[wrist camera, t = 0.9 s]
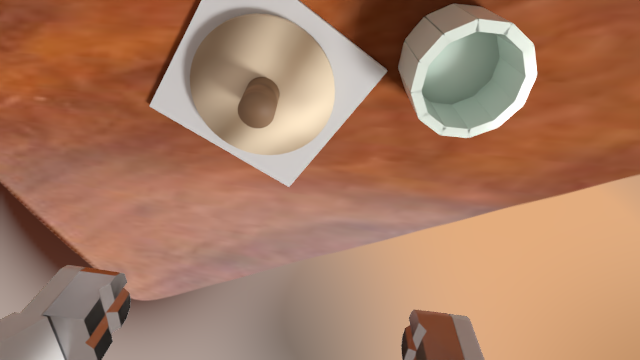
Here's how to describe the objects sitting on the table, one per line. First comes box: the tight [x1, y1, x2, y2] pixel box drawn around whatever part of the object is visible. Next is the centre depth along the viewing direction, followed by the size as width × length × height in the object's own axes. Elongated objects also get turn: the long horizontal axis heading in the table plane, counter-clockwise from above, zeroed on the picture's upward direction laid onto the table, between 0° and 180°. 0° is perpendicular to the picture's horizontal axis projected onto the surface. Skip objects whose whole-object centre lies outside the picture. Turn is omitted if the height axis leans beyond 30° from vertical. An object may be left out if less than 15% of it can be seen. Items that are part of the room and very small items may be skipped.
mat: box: [150, 0, 387, 187], centre depth 34 cm, size 16×16×1 cm
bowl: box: [398, 3, 537, 138], centre depth 30 cm, size 9×9×6 cm
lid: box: [190, 13, 335, 155], centre depth 32 cm, size 13×13×5 cm
